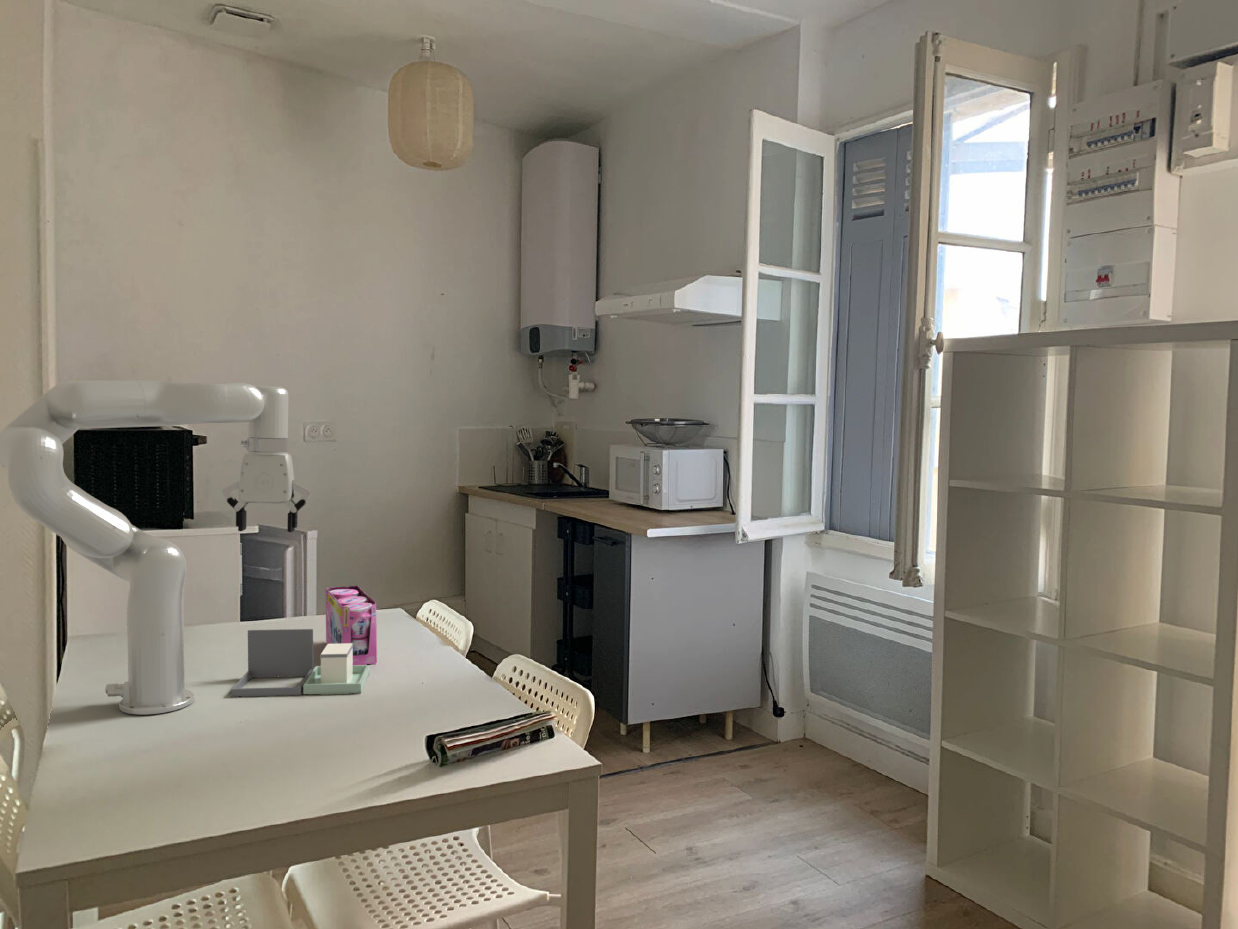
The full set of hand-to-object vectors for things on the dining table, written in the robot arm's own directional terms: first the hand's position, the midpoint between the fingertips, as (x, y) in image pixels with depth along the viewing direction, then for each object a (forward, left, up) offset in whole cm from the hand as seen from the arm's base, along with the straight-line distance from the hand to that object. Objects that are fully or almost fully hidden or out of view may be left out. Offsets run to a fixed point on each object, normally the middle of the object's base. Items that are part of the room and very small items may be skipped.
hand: (266, 530), depth 188 cm
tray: (+14, -3, -31) cm, 34 cm away
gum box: (+14, +20, -32) cm, 40 cm away
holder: (+2, -3, -31) cm, 31 cm away
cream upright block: (+14, -3, -31) cm, 34 cm away
